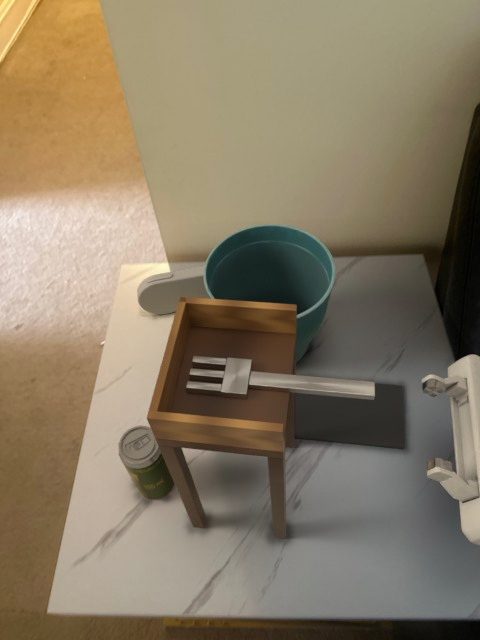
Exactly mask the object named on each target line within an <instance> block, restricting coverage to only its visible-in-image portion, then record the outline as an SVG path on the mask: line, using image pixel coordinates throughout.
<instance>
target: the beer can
mask: <svg viewBox="0 0 480 640" xmlns="http://www.w3.org/2000/svg"><path fill="white" fill-rule="evenodd" d="M118 456H119V459H120V461H121V463H122V464H123V466H124V468H125V470H126V472H127V474H128V475H129V477H130V478H131V480H132V482H133V483H134V485H135V487H136V489H137V490H138V492H139V493H140V494H141V496H142V497H144V498H146V499H148V500H160V499H163V498H164V497H167V496H168V495H169V494H170V493H171V492H172V491H173V489H174V487H175V483H174V481H173V479H172V476H171V474H170V472H169V469H168V467H167V465H166V462H165V460H164V458H163V455H162V453H161V451H160V448H159V446H158V444H157V441H156V439H155V437H154V434H153V432H152V430H151V427H150V426H147V425H142V424H141V425H136V426H133V427H130V428H129V429H127V430H126V431H125V432H124V433H123V434H122V435H121V437H120V438H119V442H118Z"/></svg>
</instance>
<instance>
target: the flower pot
mask: <svg viewBox="0 0 480 640" xmlns="http://www.w3.org/2000/svg"><path fill="white" fill-rule="evenodd" d="M203 266H204V273H203V278H204V284H205V288H206V291H207V293H208V295H209V297H210V299H222V300H236V301H251V302H265V303H280V304H294V305H297V331H296V363H298V362H299V361H300V360H301V359H302V358H303V357H304V355H305V354H306V353H307V351H308V348H309V345H310V343H311V341H313V339H314V338H315V337H316V335H317V334H318V332H319V330H320V329H321V327H322V325H323V322H324V319H325V316H326V313H327V310H328V306H329V301H330V298H331V295H332V292H333V290H334V286H335V283H336V276H337V270H336V269H337V268H336V262H335V260H334V257H333V255H332V253H331V251H330V249H329V248H328V247H327V245H325V243H324V242H322V240H320V238H318V237H317V236H315V235H314V234H312V233H310V232H308V231H306V230H304V229H301V228H299V227H296V226H292V225H287V224H279V223H264V224H256V225H251V226H248V227H245V228H242V229H239V230H236V231H234V232H232V233H231V234H229V235H227V236H226V237H225V238H223V239H222V240H221V241H219V242H218V243H217V244H216V245H215V246H214V247H213V249H212V250H211V251H210V253H209V255H208V256H207V258H206V260H205V262H204V265H203Z"/></svg>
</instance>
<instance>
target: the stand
mask: <svg viewBox="0 0 480 640" xmlns="http://www.w3.org/2000/svg"><path fill="white" fill-rule="evenodd" d="M296 331H297V305H294V304H280V303H265V302H251V301H236V300H222V299H207V298H192V297H180V298H179V301H178V305H177V309H176V311H174V316H173V321H172V324H171V328H170V331H169V334H168V338H167V341H166V346H165V349H164V353H163V356H162V360H161V364H160V368H159V372H158V374H157V377H156V382H155V386H154V389H153V394H152V397H151V401H150V403H149V404H150V405H149V407H148V412H147V415H146V420H147V422H148V423H147V424H148V425H149V427H150V428H151V430H152V432H153V434H154V437H155V439H156V441H157V444H158V446H159V448H160V451H161V453H162V455H163V458H164V460H165V462H166V465H167V467H168V469H169V472H170V474H171V476H172V479H173V481H174V483H175V485H174V487H175V488H176V490H177V493H178V495H179V498H180V500H181V502H182V504H183V507H184V509H185V511H186V514H187V516H188V518H189V520H190V523H191V525H192V527H193V528H197V529H205V527H206V521H207V515H206V513H205V509H204V506H203V503H202V501H201V498H200V495H199V493H198V490H197V487H196V485H195V481H194V479H193V476H192V473H191V470H190V467H189V465H188V462H187V459H186V456H185V453H184V451H183V449H189V450H199V451H208V452H215V453H225V454H236V455H244V456H245V455H246V456H254V457H263V458H267V469H268V480H269V481H268V483H269V494H270V507H271V520H272V533H273V538H275V539H282V540H286V536H287V484H286V483H287V482H286V481H287V480H286V479H287V477H286V448H295V442H296V438H295V400H296V393H293V392H282V391H271V390H260V389H250V388H249V390H248V397H247V399H238V398H228V397H222V396H217V395H207V394H196V393H187V390H186V384H187V381H192V382H203V383H214V384H222V383H223V382H212V381H200V380H191V379H190V377H189V371H190V368H194V369H205V370H217V371H224V372H225V370H222V369H210V368H199V367H193V365H192V359H193V356H203V357H215V358H226V359H227V358H239V359H251V360H252V371H256V372H268V373H279V374H291V375H297V362H296Z"/></svg>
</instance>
